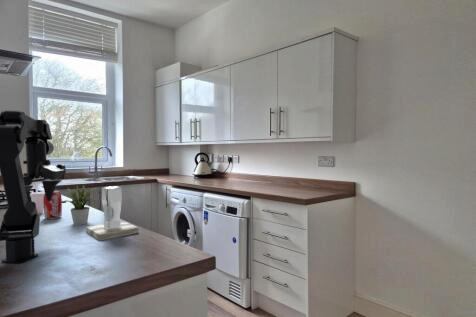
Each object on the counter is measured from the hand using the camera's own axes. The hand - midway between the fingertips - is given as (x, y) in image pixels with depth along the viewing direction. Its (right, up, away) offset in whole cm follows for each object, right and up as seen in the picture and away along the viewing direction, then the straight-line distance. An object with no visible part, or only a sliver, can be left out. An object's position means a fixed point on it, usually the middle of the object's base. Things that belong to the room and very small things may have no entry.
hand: (38, 203), depth 107 cm
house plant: (+2, -12, +25) cm, 28 cm away
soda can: (-16, -12, +36) cm, 41 cm away
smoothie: (-29, -11, +46) cm, 56 cm away
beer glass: (+20, -11, +11) cm, 26 cm away
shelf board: (+20, -12, +12) cm, 26 cm away
